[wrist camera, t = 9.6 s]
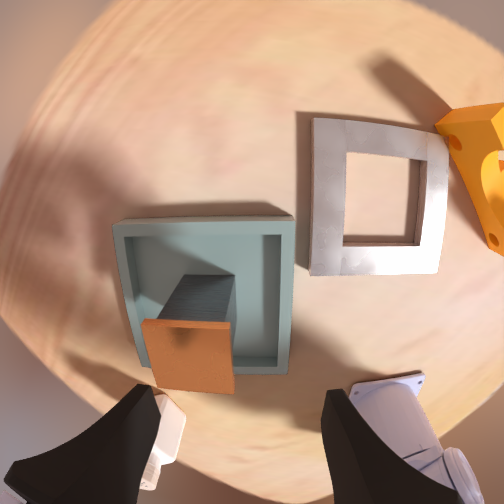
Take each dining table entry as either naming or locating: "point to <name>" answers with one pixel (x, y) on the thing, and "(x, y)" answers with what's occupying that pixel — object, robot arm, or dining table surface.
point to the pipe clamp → (480, 162)
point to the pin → (195, 336)
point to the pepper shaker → (164, 440)
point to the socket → (334, 188)
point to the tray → (215, 263)
